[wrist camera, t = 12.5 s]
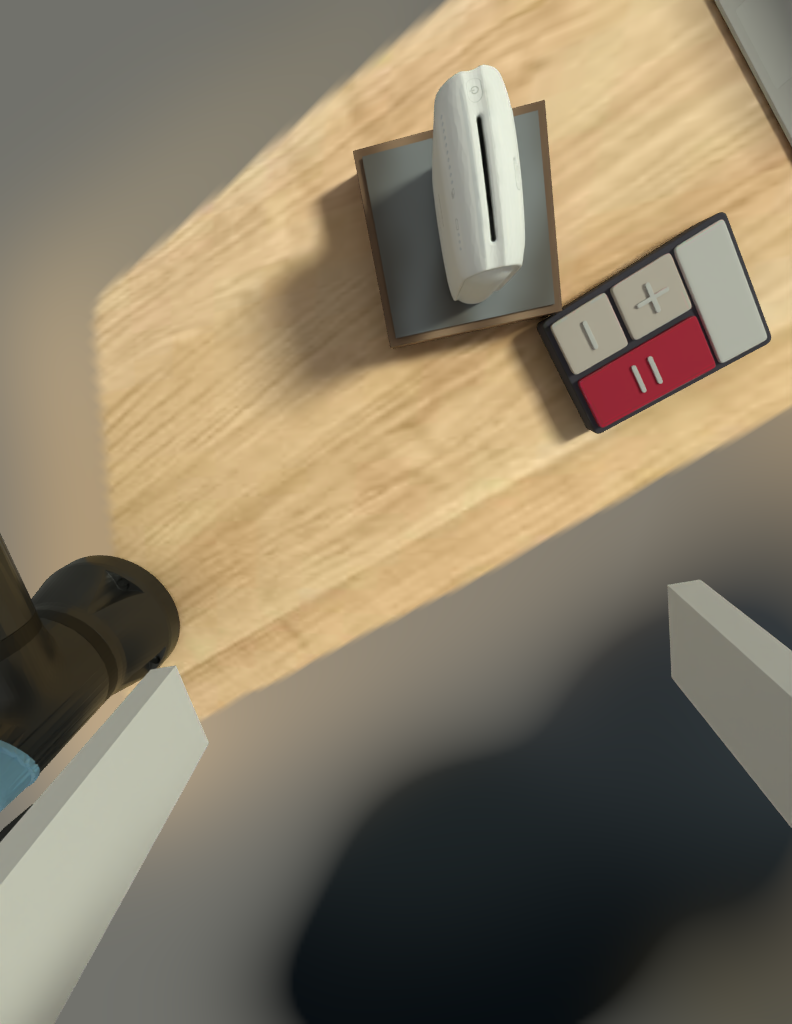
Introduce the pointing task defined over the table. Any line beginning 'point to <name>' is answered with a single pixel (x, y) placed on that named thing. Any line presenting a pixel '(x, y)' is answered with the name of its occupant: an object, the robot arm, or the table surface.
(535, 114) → the mirror
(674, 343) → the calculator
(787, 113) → the laptop
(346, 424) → the table surface
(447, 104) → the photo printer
